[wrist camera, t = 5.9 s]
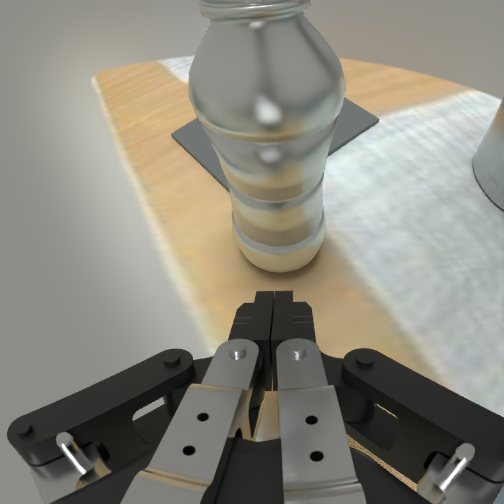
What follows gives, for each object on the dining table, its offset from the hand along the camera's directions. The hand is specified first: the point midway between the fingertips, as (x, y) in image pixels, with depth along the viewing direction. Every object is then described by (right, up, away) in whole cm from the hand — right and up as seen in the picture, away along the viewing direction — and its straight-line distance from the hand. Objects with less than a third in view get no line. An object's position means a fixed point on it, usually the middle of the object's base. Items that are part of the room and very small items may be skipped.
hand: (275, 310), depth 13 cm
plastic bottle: (+1, +3, +12) cm, 12 cm away
